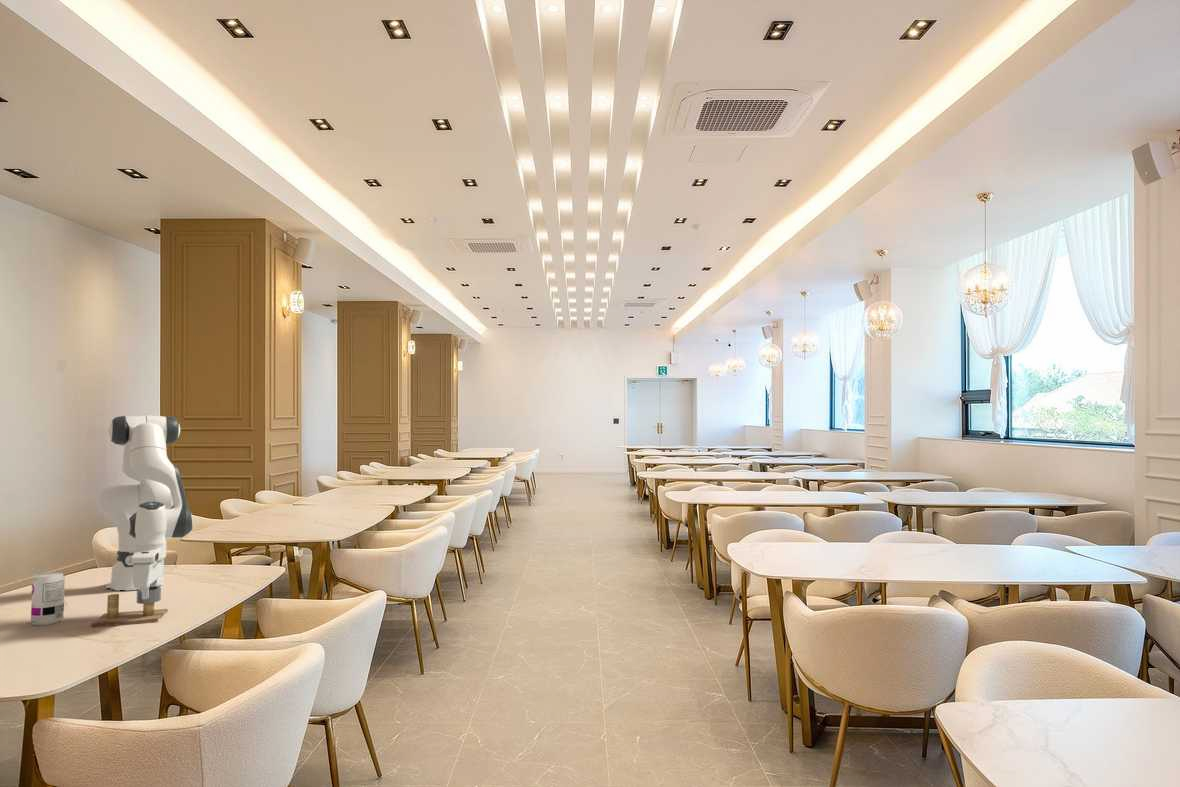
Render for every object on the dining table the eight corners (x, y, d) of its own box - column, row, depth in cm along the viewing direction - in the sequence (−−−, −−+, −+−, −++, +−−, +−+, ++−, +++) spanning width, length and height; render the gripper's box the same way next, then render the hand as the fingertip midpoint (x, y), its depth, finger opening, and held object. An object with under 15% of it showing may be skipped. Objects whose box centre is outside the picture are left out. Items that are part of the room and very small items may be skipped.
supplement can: (25, 626, 217) (27, 577, 217) (38, 619, 225) (40, 572, 225) (56, 624, 219) (57, 576, 220) (68, 617, 227) (69, 570, 227)
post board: (104, 616, 228) (105, 591, 229) (167, 611, 234) (168, 587, 234) (91, 626, 217) (91, 600, 217) (157, 621, 223) (158, 596, 223)
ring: (140, 599, 229) (140, 587, 229) (162, 597, 231) (162, 585, 231) (134, 604, 223) (134, 591, 223) (157, 602, 225) (157, 590, 225)
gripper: (148, 547, 237) (147, 588, 236) (129, 559, 217) (128, 604, 217) (169, 546, 239) (168, 587, 238) (152, 558, 219) (151, 602, 219)
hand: (149, 595), depth 227 cm, fingers closed on ring, 6 cm apart
